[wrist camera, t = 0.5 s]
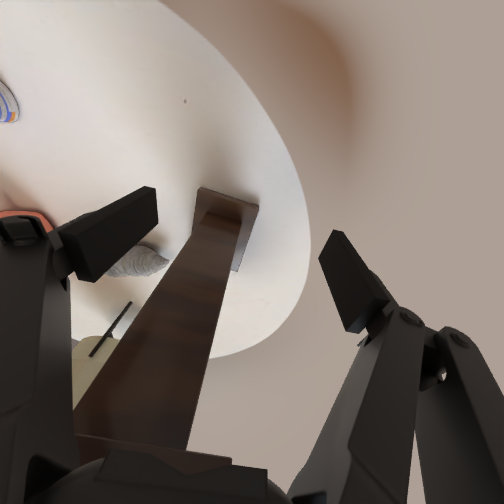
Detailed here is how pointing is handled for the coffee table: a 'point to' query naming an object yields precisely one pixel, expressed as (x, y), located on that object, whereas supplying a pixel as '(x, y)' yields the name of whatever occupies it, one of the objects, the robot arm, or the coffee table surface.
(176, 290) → the stand
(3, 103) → the pill bottle
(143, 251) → the seashell
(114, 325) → the planter
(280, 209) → the coffee table surface
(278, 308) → the coffee table surface
